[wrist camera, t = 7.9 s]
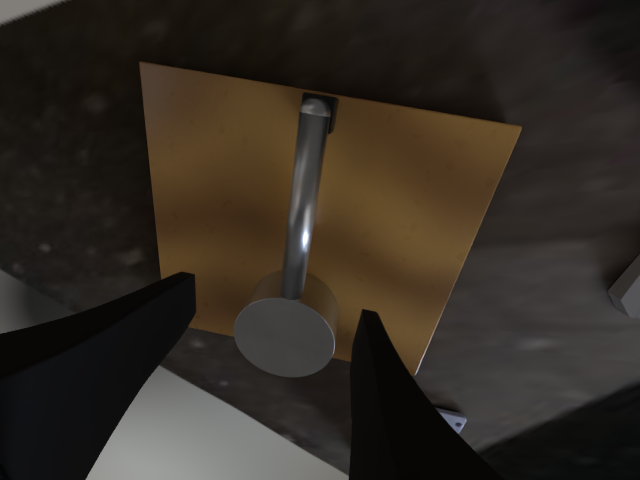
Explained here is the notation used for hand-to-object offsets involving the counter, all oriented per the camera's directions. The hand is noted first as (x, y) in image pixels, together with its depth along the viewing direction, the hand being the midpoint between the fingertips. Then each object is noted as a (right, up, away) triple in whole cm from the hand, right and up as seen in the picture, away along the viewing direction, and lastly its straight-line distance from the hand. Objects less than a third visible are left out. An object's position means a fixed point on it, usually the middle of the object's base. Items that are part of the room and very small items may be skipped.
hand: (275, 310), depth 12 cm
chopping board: (+1, +3, +8) cm, 8 cm away
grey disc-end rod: (+1, +3, +6) cm, 7 cm away
